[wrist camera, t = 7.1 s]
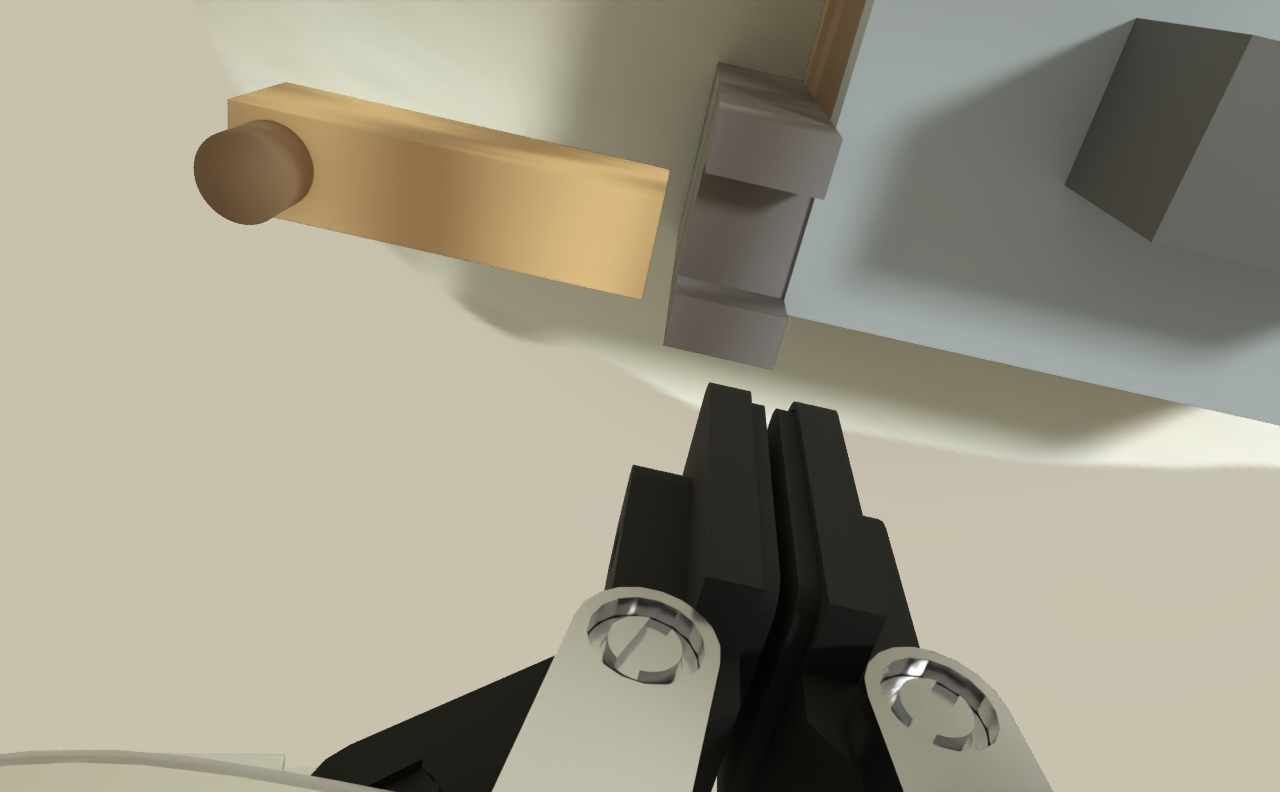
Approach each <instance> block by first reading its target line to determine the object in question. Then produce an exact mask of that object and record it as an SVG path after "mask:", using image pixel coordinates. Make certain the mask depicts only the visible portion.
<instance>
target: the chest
mask: <svg viewBox="0 0 1280 792" xmlns="http://www.w3.org/2000/svg"><path fill="white" fill-rule="evenodd" d="M865 2H866V0H826V2H825V5H824V9H823V12H822V16H821V20H820V23H819V27H818V30H817V34H816V38H815V41H814V45H813V48H812V52H811V56H810V59H809V63H808V66H807V70H806V74H805V77H804V81H803V82H801V81H797V80H792V79H788V78H784V77H779V76H775V75H771V74H766V73H762V72H758V71H753V70H749V69H745V68H740V67H736V66H732V65H727V64H723V63H719V62H718V66H717V70H716V74H715V79H714V83H713V87H712V91H711V96H710V100H709V104H708V108H707V113H706V117H705V121H704V126H703V130H702V134H701V138H700V143H699V147H698V151H697V155H696V160H695V164H694V168H693V173H692V177H691V181H690V185H689V190H688V194H687V198H686V202H685V207H684V211H683V215H682V220H681V224H680V228H679V232H678V238H677V246H676V254H675V261H674V269H673V276H672V284H671V292H670V299H669V307H668V314H667V322H666V330H665V337H664V346H668V347H673V348H677V349H682V350H686V351H691V352H695V353H700V354H704V355H709V356H713V357H718V358H722V359H727V360H731V361H736V362H740V363H745V364H749V365H754V366H758V367H763V368H767V369H773V366H774V362H775V359H776V356H777V353H778V349H779V346H780V343H781V340H782V336H783V333H784V330H785V327H786V323H787V320H788V317H787V312H786V307H785V302H784V297H785V294H786V290H787V287H788V284H789V280H790V277H791V274H792V270H793V267H794V264H795V260H796V257H797V254H798V250H799V247H800V244H801V240H802V237H803V234H804V230H805V227H806V224H807V220H808V217H809V214H810V210H811V207H812V204H813V201H814V198H817V199H822V200H824V199H825V196H826V193H827V190H828V186H829V183H830V180H831V177H832V173H833V170H834V167H835V164H836V160H837V157H838V154H839V151H840V147H841V144H842V141H843V138H842V137H841V135H840V134H839V132H838V131H837V129H836V128H835V127H834V125H833V124H832V122H831V121H830V120H831V117H832V113H833V110H834V107H835V103H836V100H837V97H838V93H839V90H840V86H841V83H842V80H843V76H844V73H845V70H846V66H847V63H848V60H849V56H850V53H851V49H852V46H853V43H854V39H855V36H856V33H857V29H858V26H859V23H860V19H861V16H862V12H863V9H864V6H865Z"/></svg>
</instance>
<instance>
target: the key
mask: <svg viewBox="0 0 1280 792" xmlns="http://www.w3.org/2000/svg"><path fill="white" fill-rule="evenodd" d="M669 173H670V170H669V169H665V168H660V167H656V166H652V165H647V164H643V163H638V162H634V161H630V160H625V159H621V158H617V157H612V156H608V155H603V154H599V153H595V152H590V151H586V150H581V149H577V148H573V147H568V146H564V145H559V144H555V143H551V142H546V141H542V140H537V139H533V138H529V137H524V136H520V135H515V134H511V133H507V132H502V131H498V130H493V129H489V128H485V127H480V126H476V125H471V124H467V123H463V122H458V121H454V120H449V119H445V118H441V117H436V116H432V115H428V114H423V113H419V112H414V111H410V110H406V109H401V108H397V107H392V106H388V105H384V104H379V103H375V102H370V101H366V100H362V99H357V98H353V97H348V96H344V95H340V94H335V93H331V92H326V91H322V90H318V89H313V88H309V87H304V86H300V85H296V84H291V83H287V82H285V83H282V84H278V85H275V86H272V87H268V88H265V89H261V90H258V91H255V92H251V93H248V94H244V95H241V96H238V97H234V98H231V99H228V130H225V131H222V132H220V133H217V134H214V135H212V136H211V137H209V138H208V139H206V140H205V141H204V142H203V143H202V144H201V146H200V147H199V149H198V151H197V153H196V156H195V161H194V176H195V180H196V184H197V186H198V189H199V191H200V193H201V195H202V196H203V198H204V199H205V201H206V202H207V203H208V204H209V206H210V207H211V208H212V209H213V210H215V211H216V212H217V213H218V214H220V215H221V216H222V217H224V218H226V219H228V220H230V221H233V222H235V223H239V224H244V225H255V224H260V223H263V222H266V221H268V220H269V219H271V218H273V217H274V218H278V219H283V220H287V221H292V222H296V223H301V224H305V225H309V226H315V227H318V228H323V229H328V230H332V231H336V232H341V233H346V234H350V235H355V236H359V237H363V238H368V239H372V240H377V241H381V242H386V243H390V244H394V245H399V246H403V247H408V248H412V249H417V250H421V251H426V252H430V253H435V254H439V255H444V256H448V257H453V258H457V259H462V260H466V261H471V262H475V263H479V264H484V265H488V266H493V267H497V268H502V269H506V270H511V271H515V272H520V273H524V274H529V275H533V276H538V277H542V278H547V279H551V280H556V281H560V282H564V283H569V284H573V285H578V286H582V287H587V288H591V289H596V290H600V291H605V292H609V293H614V294H618V295H623V296H627V297H632V298H636V299H640V300H642V296H643V291H644V287H645V282H646V278H647V273H648V269H649V264H650V260H651V255H652V251H653V246H654V242H655V237H656V233H657V228H658V224H659V219H660V215H661V210H662V206H663V201H664V197H665V192H666V187H667V182H668V177H669Z"/></svg>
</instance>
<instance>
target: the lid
mask: <svg viewBox="0 0 1280 792" xmlns="http://www.w3.org/2000/svg"><path fill="white" fill-rule="evenodd" d="M830 121H831V122H832V124H833V125H834V127H835V128H836V129H837V131H838V132H839V134H840V135H841V137H842V138H843V141H842V144H841V147H840V151H839V154H838V157H837V160H836V164H835V167H834V170H833V173H832V177H831V180H830V183H829V186H828V190H827V193H826V196H825V199H824V200H822V199H817V198H814V201H813V204H812V207H811V210H810V214H809V217H808V220H807V224H806V227H805V230H804V234H803V237H802V240H801V244H800V247H799V250H798V254H797V257H796V260H795V264H794V267H793V270H792V274H791V277H790V280H789V284H788V287H787V290H786V294H785V297H784V302H785V307H786V312H787V315H789V316H793V317H798V318H802V319H807V320H811V321H816V322H820V323H825V324H829V325H834V326H838V327H843V328H847V329H851V330H856V331H860V332H865V333H869V334H874V335H878V336H883V337H887V338H892V339H896V340H901V341H905V342H909V343H914V344H918V345H923V346H927V347H932V348H936V349H941V350H945V351H950V352H954V353H959V354H963V355H968V356H972V357H976V358H981V359H985V360H990V361H994V362H999V363H1003V364H1008V365H1012V366H1017V367H1021V368H1026V369H1030V370H1034V371H1039V372H1043V373H1048V374H1052V375H1057V376H1061V377H1066V378H1070V379H1075V380H1079V381H1084V382H1088V383H1092V384H1097V385H1101V386H1106V387H1110V388H1115V389H1119V390H1124V391H1128V392H1133V393H1137V394H1142V395H1146V396H1151V397H1155V398H1159V399H1164V400H1168V401H1173V402H1177V403H1182V404H1186V405H1191V406H1195V407H1200V408H1204V409H1209V410H1213V411H1217V412H1222V413H1226V414H1231V415H1235V416H1240V417H1244V418H1249V419H1253V420H1258V421H1262V422H1267V423H1271V424H1275V425H1280V0H866V2H865V6H864V9H863V12H862V16H861V19H860V23H859V26H858V29H857V33H856V36H855V39H854V43H853V46H852V49H851V53H850V56H849V60H848V63H847V66H846V70H845V73H844V76H843V80H842V83H841V86H840V90H839V93H838V97H837V100H836V103H835V107H834V110H833V113H832V117H831V120H830Z"/></svg>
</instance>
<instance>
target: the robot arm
mask: <svg viewBox="0 0 1280 792" xmlns="http://www.w3.org/2000/svg"><path fill="white" fill-rule="evenodd" d="M716 777H717V792H1053V790H1052V788H1051V786H1050V785H1049V783H1048V781H1047V779H1046V777H1045V775H1044V774H1043V772H1042V770H1041V768H1040V766H1039V764H1038V762H1037V761H1036V759H1035V757H1034V755H1033V753H1032V751H1031V750H1030V748H1029V746H1028V744H1027V742H1026V741H1025V738H1024V737H1023V735H1022V733H1021V731H1020V729H1019V727H1018V726H1017V724H1016V722H1015V720H1014V718H1013V716H1012V715H1011V713H1010V711H1009V709H1008V708H1007V706H1006V705H1005V704H1004V702H1003V701H1002V699H1001V698H1000V697H999V695H998V694H997V692H996V691H995V690H994V689H993V688H992V687H991V686H990V685H988V684H987V683H986V682H985V681H984V680H983V679H982V678H981V677H980V676H979V675H977V674H976V673H975V672H973V671H971V670H970V669H968V668H967V667H965V666H964V665H962V664H961V663H959V662H957V661H955V660H953V659H951V658H948V657H946V656H944V655H941V654H939V653H937V652H934V651H930V650H925V649H921V648H920V647H919V643H918V640H917V636H916V633H915V630H914V626H913V622H912V619H911V615H910V612H909V608H908V604H907V601H906V597H905V594H904V590H903V587H902V583H901V580H900V576H899V572H898V569H897V566H896V562H895V558H894V555H893V551H892V548H891V544H890V540H889V537H888V533H887V530H886V527H885V525H884V523H883V521H881V520H879V519H875V518H871V517H866V516H863V515H862V510H861V506H860V502H859V498H858V494H857V490H856V486H855V482H854V478H853V474H852V470H851V466H850V462H849V457H848V453H847V450H846V445H845V441H844V437H843V433H842V429H841V425H840V421H839V417H838V414H837V412H836V411H835V410H831V409H826V408H822V407H817V406H813V405H808V404H804V403H799V402H793V403H792V404H791V406H790V408H789V410H788V411H785V410H780V409H775V411H774V412H773V415H772V417H771V420H770V423H769V426H768V429H767V426H766V415H765V407H764V406H763V405H758V404H754V403H752V398H751V392H750V391H746V390H741V389H737V388H732V387H728V386H724V385H719V384H715V383H709V384H708V386H707V389H706V392H705V395H704V399H703V402H702V406H701V409H700V413H699V417H698V421H697V424H696V428H695V432H694V435H693V439H692V443H691V446H690V450H689V454H688V457H687V461H686V465H685V468H684V472H683V476H682V475H677V474H673V473H668V472H663V471H659V470H654V469H650V468H645V467H641V466H636V465H633V467H632V470H631V473H630V477H629V482H628V485H627V489H626V494H625V498H624V502H623V506H622V510H621V515H620V519H619V523H618V528H617V532H616V536H615V541H614V545H613V550H612V555H611V560H610V564H609V569H608V575H607V579H606V586H605V590H604V591H601V592H599V593H597V594H595V595H594V596H592V597H591V598H589V599H587V600H586V601H584V602H583V604H582V605H581V606H580V608H579V609H578V610H577V611H576V613H575V614H574V616H573V618H572V620H571V622H570V625H569V627H568V629H567V631H566V633H565V635H564V637H563V640H562V642H561V644H560V646H559V648H558V650H557V653H556V655H555V656H553V657H551V658H548V659H546V660H544V661H541V662H539V663H537V664H534V665H532V666H530V667H528V668H525V669H523V670H521V671H518V672H516V673H514V674H511V675H509V676H507V677H505V678H502V679H500V680H498V681H495V682H493V683H491V684H489V685H486V686H485V687H482V688H479V689H477V690H475V691H472V692H470V693H468V694H466V695H463V696H461V697H459V698H457V699H454V700H452V701H450V702H447V703H445V704H443V705H440V706H438V707H436V708H433V709H431V710H429V711H427V712H424V713H422V714H420V715H417V716H415V717H413V718H410V719H408V720H406V721H404V722H401V723H399V724H397V725H394V726H392V727H390V728H387V729H386V730H383V731H381V732H378V733H376V734H374V735H371V736H369V737H367V738H365V739H362V740H360V741H358V742H356V743H353V744H351V745H349V746H347V747H346V748H344V749H342V750H340V751H339V752H337V753H336V754H334V755H332V756H330V757H329V758H327V759H326V760H325V761H324V762H323V763H322V764H321V765H320V766H319V767H318V768H285V755H284V754H281V755H280V754H169V753H168V754H167V753H166V754H165V753H162V754H161V753H159V754H158V753H145V752H133V751H120V750H74V751H73V750H67V751H26V752H17V753H9V754H0V792H711V790H712V788H713V785H714V782H715V779H716Z"/></svg>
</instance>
